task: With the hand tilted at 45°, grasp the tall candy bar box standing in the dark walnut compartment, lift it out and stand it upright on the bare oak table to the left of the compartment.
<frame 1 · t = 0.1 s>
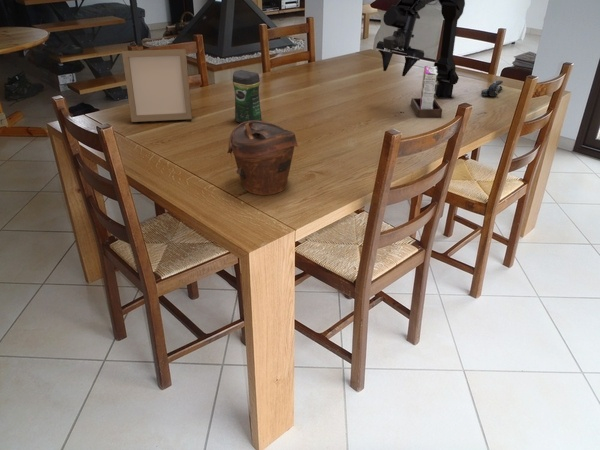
hand: (393, 73, 188), 15 cm above the table, tool pointing down, fingers open, 9 cm apart
coffee jar: (248, 121, 188), on the table
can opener: (493, 93, 219), on the table
photo frame: (163, 116, 192), on the table
brown bucket: (263, 185, 144), on the table
candy bar box: (425, 112, 198), resting in compartment
compartment: (425, 111, 198), on the table
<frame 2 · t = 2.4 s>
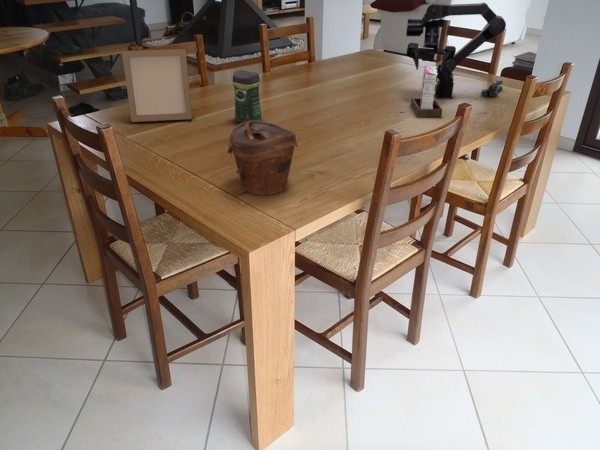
hand: (429, 70, 199), 14 cm above the table, tool tilted 45°, fingers open, 9 cm apart
nothing on the table moved.
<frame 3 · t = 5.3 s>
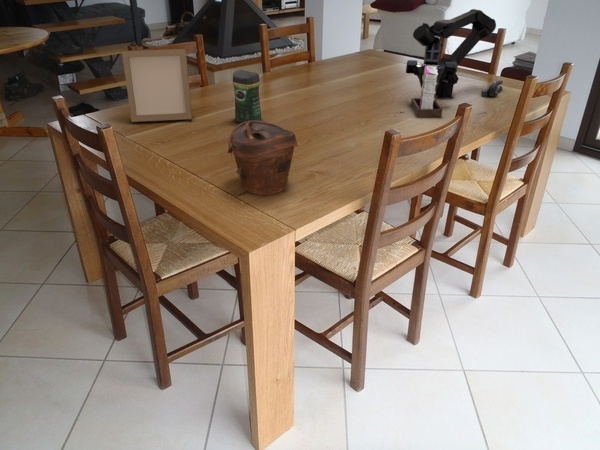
hand: (428, 87, 195), 9 cm above the table, tool tilted 45°, fingers closed on candy bar box, 5 cm apart
candy bar box: (424, 111, 198), resting in compartment, touching gripper
everything else where it was.
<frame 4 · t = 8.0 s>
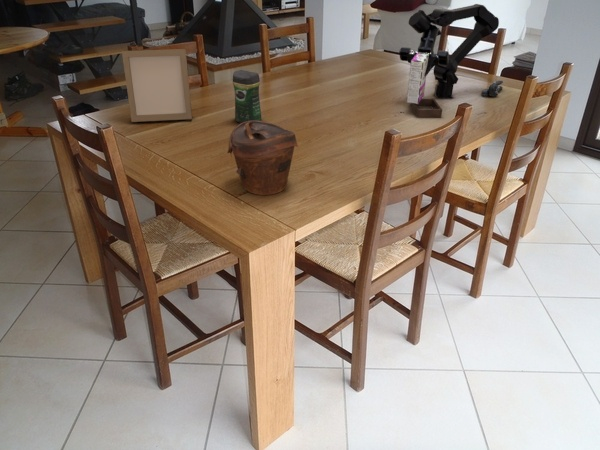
hand: (418, 75, 194), 13 cm above the table, tool tilted 45°, fingers closed on candy bar box, 5 cm apart
candy bar box: (414, 99, 198), point 4 cm above the table, touching gripper
everything else where it was.
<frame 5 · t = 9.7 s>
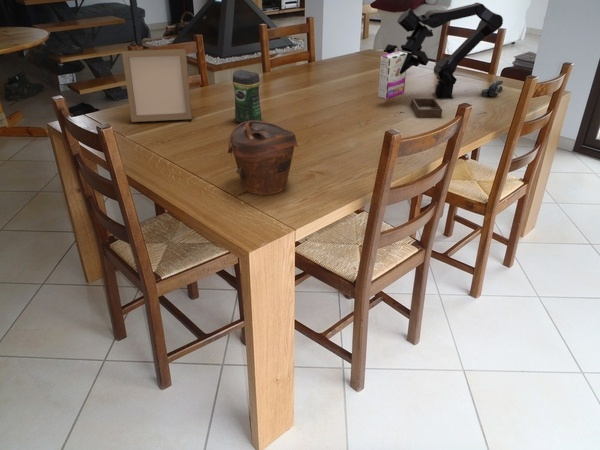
hand: (395, 72, 200), 13 cm above the table, tool tilted 45°, fingers closed on candy bar box, 5 cm apart
candy bar box: (390, 95, 204), point 3 cm above the table, touching gripper
everything else where it was.
when the fingers open (9 cm above the table, at t = 11.1 s): candy bar box stays where it is, on the table.
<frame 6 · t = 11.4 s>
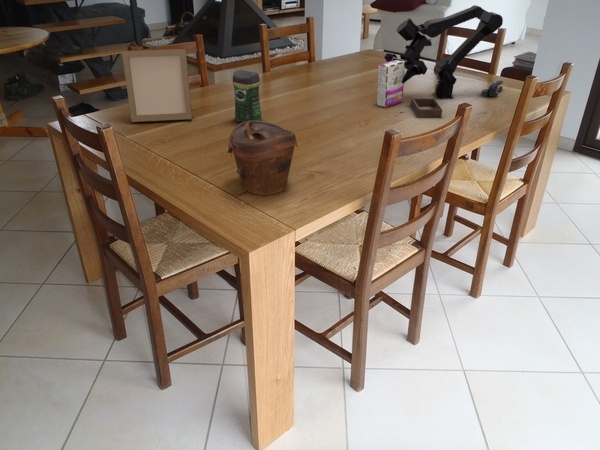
hand: (394, 80, 202), 9 cm above the table, tool tilted 45°, fingers open, 8 cm apart
candy bar box: (389, 104, 206), on the table
everything else where it was.
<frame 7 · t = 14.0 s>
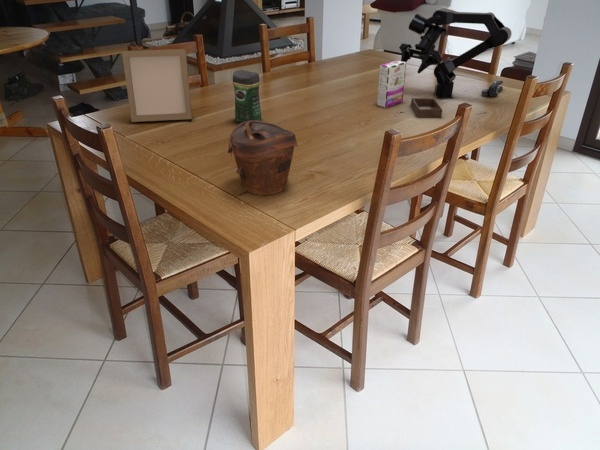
hand: (409, 70, 205), 12 cm above the table, tool tilted 45°, fingers open, 9 cm apart
nothing on the table moved.
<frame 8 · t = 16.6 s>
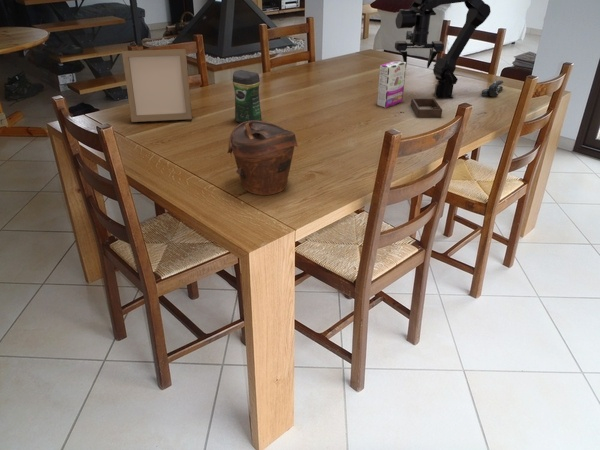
hand: (416, 67, 205), 13 cm above the table, tool pointing down, fingers open, 9 cm apart
nothing on the table moved.
at the end: candy bar box inside the target area (0.2 cm from its centre), on the table; candy bar box tilted 0°; the gripper is holding nothing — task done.
